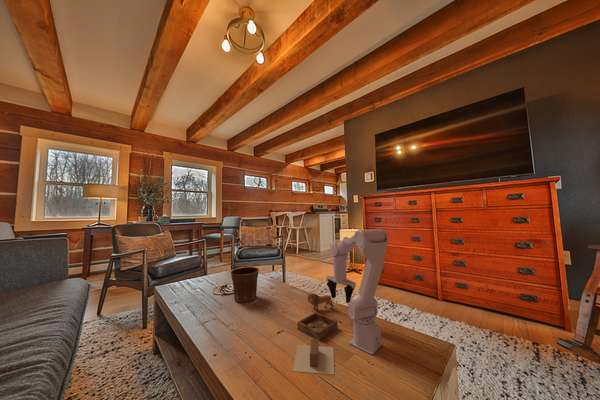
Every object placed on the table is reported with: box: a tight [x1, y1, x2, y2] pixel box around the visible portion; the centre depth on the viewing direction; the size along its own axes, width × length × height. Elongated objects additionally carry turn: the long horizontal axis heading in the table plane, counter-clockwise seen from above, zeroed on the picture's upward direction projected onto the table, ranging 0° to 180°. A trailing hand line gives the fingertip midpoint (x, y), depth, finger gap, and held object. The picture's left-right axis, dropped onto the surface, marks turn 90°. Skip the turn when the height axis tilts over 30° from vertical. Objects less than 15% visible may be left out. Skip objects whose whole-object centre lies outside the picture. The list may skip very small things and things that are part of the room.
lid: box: [291, 338, 335, 376], centre depth 72 cm, size 13×13×5 cm
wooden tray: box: [297, 311, 339, 342], centre depth 90 cm, size 12×12×3 cm
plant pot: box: [230, 266, 260, 304], centre depth 123 cm, size 16×16×16 cm
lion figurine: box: [307, 292, 335, 313], centre depth 108 cm, size 15×5×9 cm, turn 112°
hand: (340, 300), depth 96 cm, fingers open, 7 cm apart
